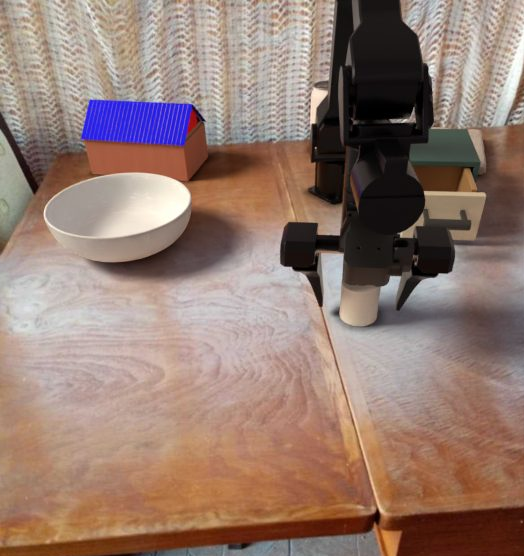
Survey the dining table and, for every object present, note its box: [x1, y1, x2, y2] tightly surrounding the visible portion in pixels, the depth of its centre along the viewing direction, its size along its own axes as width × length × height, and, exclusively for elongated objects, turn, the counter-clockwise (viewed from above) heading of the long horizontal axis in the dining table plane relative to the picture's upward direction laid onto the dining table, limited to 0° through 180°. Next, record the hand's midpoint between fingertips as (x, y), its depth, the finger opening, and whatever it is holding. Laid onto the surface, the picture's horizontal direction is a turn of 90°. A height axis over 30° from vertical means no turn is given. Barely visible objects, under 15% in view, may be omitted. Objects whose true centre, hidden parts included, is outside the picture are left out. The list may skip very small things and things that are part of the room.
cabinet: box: [409, 128, 481, 185], centre depth 87 cm, size 14×12×9 cm
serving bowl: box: [43, 173, 193, 263], centre depth 80 cm, size 21×21×7 cm
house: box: [80, 98, 209, 182], centre depth 100 cm, size 12×20×12 cm, turn 76°
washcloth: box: [431, 126, 487, 175], centre depth 101 cm, size 12×18×3 cm, turn 167°
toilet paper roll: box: [338, 279, 382, 327], centre depth 65 cm, size 5×5×5 cm
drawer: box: [400, 166, 487, 241], centre depth 78 cm, size 17×10×7 cm, turn 172°
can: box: [309, 79, 329, 148], centre depth 103 cm, size 6×6×12 cm
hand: (358, 307), depth 66 cm, fingers open, 9 cm apart
